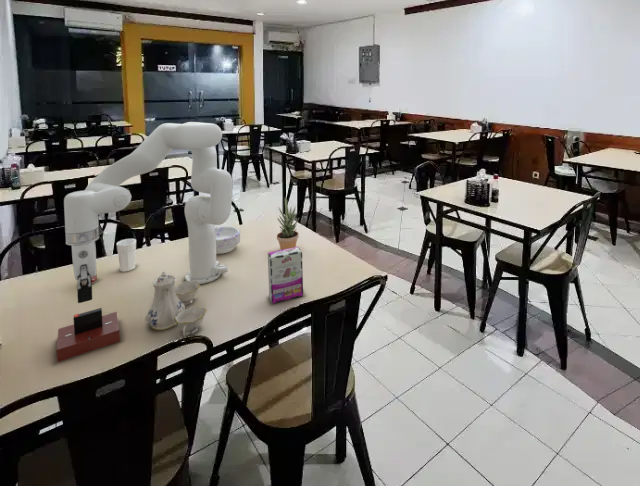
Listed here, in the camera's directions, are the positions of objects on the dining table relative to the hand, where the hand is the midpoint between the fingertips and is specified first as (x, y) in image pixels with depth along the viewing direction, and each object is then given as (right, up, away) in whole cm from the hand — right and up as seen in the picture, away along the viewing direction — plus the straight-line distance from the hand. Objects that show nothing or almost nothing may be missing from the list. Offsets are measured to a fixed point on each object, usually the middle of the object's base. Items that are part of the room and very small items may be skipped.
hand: (85, 293), depth 110 cm
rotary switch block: (0, -14, +1) cm, 15 cm away
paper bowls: (+15, -9, +63) cm, 65 cm away
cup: (-16, -11, +45) cm, 49 cm away
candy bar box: (+52, -13, +25) cm, 59 cm away
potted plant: (+44, -10, +62) cm, 77 cm away
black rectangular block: (0, -11, +1) cm, 11 cm away
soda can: (-24, -12, +34) cm, 43 cm away
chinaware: (+20, -14, +12) cm, 27 cm away
